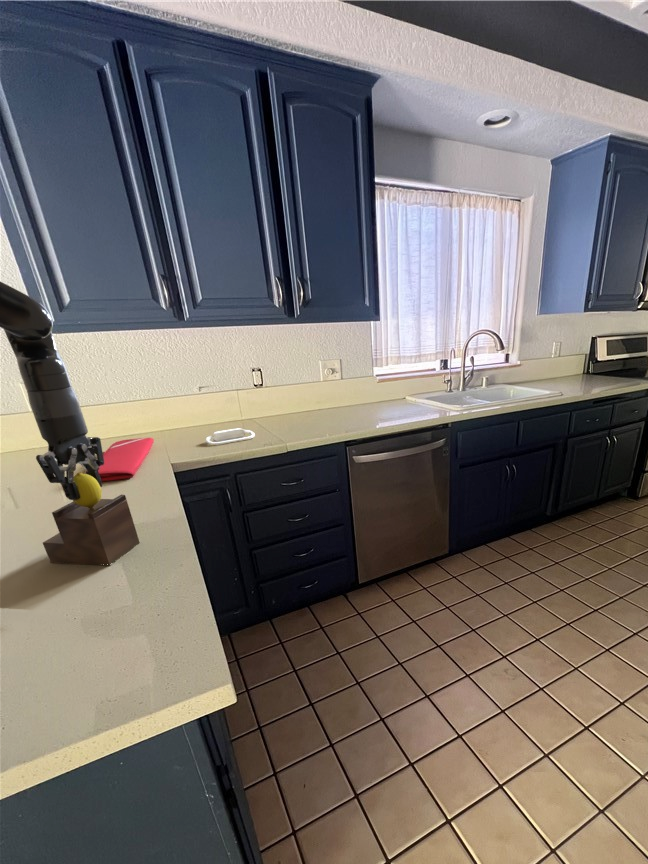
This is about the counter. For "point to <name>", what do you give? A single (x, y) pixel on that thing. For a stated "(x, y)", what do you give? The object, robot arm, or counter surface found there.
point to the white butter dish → (229, 436)
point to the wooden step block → (92, 533)
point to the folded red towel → (124, 458)
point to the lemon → (87, 490)
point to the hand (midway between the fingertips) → (85, 493)
